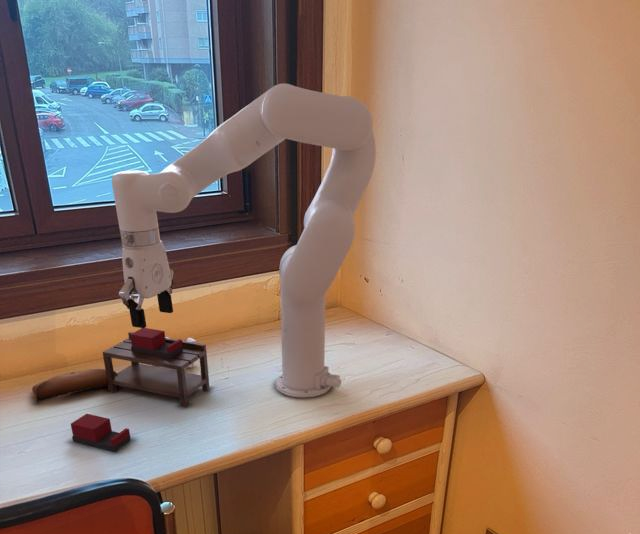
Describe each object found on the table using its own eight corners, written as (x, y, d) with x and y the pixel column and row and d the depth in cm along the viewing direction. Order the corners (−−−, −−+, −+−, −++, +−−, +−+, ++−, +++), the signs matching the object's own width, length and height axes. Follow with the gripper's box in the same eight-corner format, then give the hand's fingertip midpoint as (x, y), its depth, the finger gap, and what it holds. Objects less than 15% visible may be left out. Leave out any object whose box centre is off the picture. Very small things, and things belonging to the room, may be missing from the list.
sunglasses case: (110, 370, 151) (111, 353, 146) (120, 395, 148) (121, 378, 143) (29, 387, 143) (27, 369, 137) (38, 413, 140) (36, 396, 135)
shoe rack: (209, 388, 145) (205, 344, 140) (185, 407, 137) (180, 361, 131) (136, 374, 151) (130, 331, 146) (109, 391, 143) (101, 346, 138)
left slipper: (131, 440, 124) (128, 422, 122) (115, 452, 120) (112, 433, 118) (89, 430, 128) (86, 412, 126) (72, 441, 124) (69, 423, 122)
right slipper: (183, 350, 139) (181, 333, 137) (170, 358, 136) (168, 341, 134) (144, 344, 143) (142, 327, 141) (131, 351, 139) (129, 334, 137)
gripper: (129, 249, 119) (143, 335, 128) (180, 229, 133) (190, 308, 142) (96, 246, 122) (112, 331, 130) (150, 227, 136) (162, 305, 144)
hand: (153, 319), depth 136 cm, fingers open, 9 cm apart
